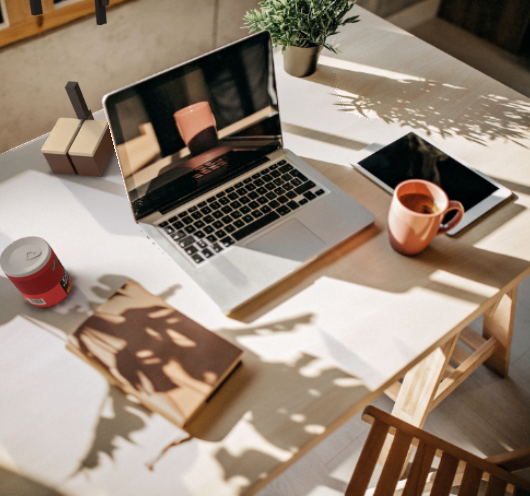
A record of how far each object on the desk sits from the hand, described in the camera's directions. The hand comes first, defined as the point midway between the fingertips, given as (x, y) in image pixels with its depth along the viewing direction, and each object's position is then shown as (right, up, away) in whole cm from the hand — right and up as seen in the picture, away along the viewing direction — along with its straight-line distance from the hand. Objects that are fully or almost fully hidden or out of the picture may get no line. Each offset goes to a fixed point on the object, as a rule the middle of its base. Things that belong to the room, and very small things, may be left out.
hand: (69, 19), depth 96 cm
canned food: (0, -52, -9) cm, 53 cm away
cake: (-1, -25, +10) cm, 27 cm away
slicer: (0, -20, +13) cm, 24 cm away
